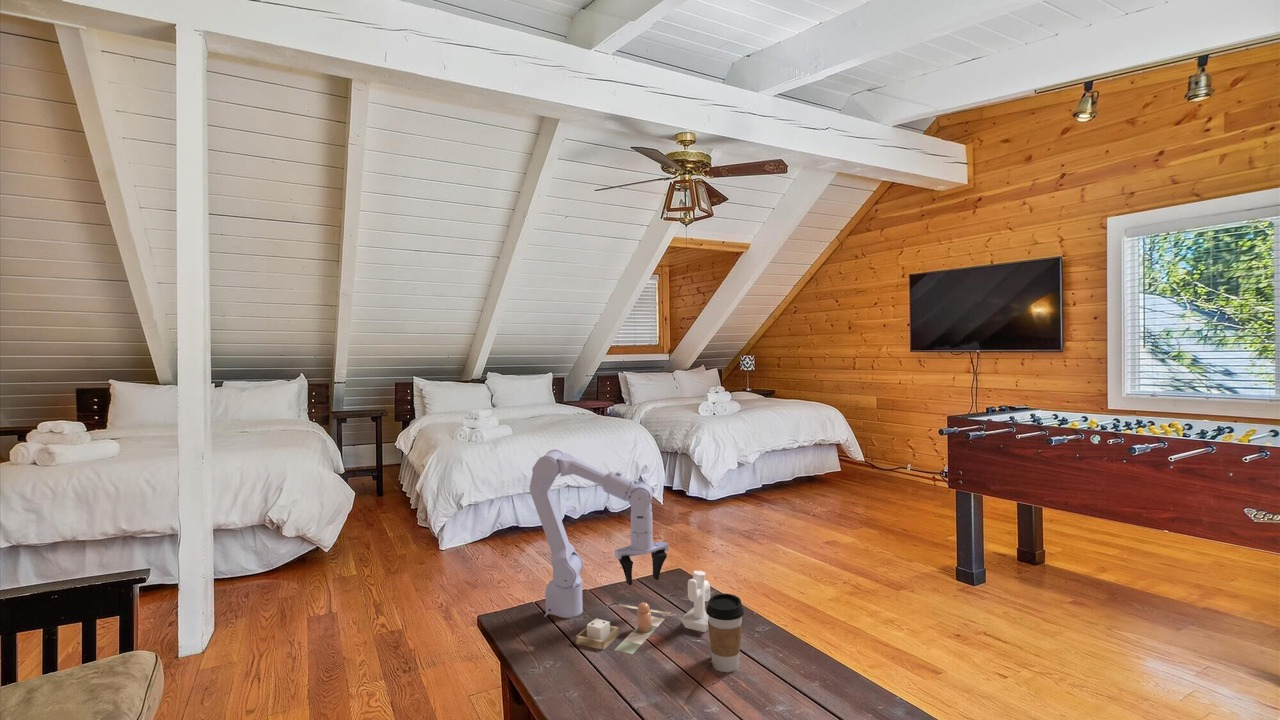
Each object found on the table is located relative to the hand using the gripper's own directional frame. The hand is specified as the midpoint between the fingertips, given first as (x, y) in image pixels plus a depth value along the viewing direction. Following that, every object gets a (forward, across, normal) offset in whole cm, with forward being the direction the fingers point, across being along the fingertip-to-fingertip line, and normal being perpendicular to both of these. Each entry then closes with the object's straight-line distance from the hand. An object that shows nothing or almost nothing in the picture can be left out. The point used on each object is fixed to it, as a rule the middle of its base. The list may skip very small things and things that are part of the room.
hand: (642, 581), depth 172 cm
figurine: (+10, -10, +12) cm, 19 cm away
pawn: (+9, +3, +8) cm, 13 cm away
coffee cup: (+10, -7, +30) cm, 32 cm away
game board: (+10, +8, +6) cm, 14 cm away
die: (+9, +15, +8) cm, 19 cm away
